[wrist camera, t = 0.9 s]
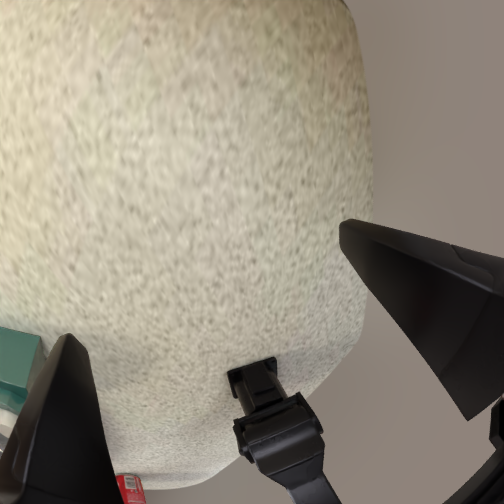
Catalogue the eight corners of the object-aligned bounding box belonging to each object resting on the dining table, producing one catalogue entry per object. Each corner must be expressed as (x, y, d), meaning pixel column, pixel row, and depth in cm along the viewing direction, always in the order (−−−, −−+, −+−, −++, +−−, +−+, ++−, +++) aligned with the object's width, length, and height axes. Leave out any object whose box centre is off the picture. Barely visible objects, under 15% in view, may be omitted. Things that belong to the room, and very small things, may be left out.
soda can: (115, 479, 41) (122, 521, 30) (107, 471, 38) (114, 517, 28) (142, 480, 43) (152, 521, 33) (137, 471, 40) (147, 518, 30)
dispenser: (42, 336, 21) (25, 404, 14) (54, 386, 25) (48, 445, 17) (-33, 316, 17) (-60, 371, 9) (-13, 368, 20) (-28, 420, 12)
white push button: (20, 412, 15) (18, 429, 13) (30, 429, 16) (29, 445, 14) (-8, 402, 13) (-12, 419, 11) (3, 421, 14) (1, 436, 13)
